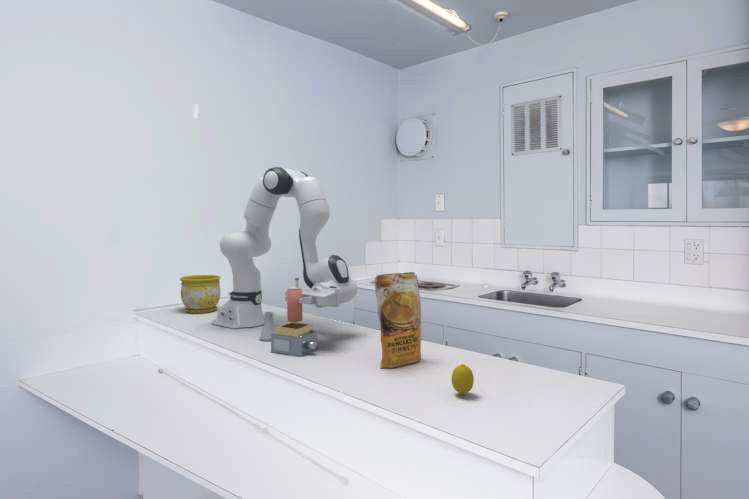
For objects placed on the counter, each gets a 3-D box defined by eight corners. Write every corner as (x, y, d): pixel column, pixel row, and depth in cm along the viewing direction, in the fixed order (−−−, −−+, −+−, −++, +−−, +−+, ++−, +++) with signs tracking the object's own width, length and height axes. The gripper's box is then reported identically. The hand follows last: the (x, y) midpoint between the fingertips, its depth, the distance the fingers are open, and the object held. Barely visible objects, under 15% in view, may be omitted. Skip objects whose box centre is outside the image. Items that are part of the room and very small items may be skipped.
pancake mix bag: (367, 365, 143) (368, 274, 141) (415, 355, 154) (415, 270, 152) (381, 371, 137) (382, 276, 135) (429, 360, 149) (430, 272, 147)
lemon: (477, 394, 120) (478, 363, 119) (466, 400, 116) (466, 368, 115) (458, 389, 123) (459, 359, 123) (447, 395, 119) (447, 364, 119)
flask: (274, 342, 169) (274, 314, 169) (255, 340, 171) (255, 313, 170) (282, 337, 176) (282, 310, 176) (264, 336, 178) (264, 310, 177)
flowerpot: (228, 308, 231) (228, 275, 230) (204, 316, 213) (204, 280, 212) (197, 306, 236) (197, 274, 235) (172, 313, 219) (171, 278, 218)
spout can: (284, 321, 157) (283, 278, 156) (292, 318, 161) (292, 276, 160) (297, 322, 155) (296, 279, 154) (305, 319, 159) (304, 277, 158)
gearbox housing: (270, 352, 156) (270, 327, 156) (288, 344, 166) (288, 321, 165) (309, 358, 150) (309, 331, 150) (325, 349, 160) (325, 325, 159)
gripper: (302, 283, 174) (272, 287, 163) (342, 288, 161) (313, 293, 150) (302, 300, 174) (272, 305, 163) (343, 306, 161) (313, 313, 151)
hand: (292, 300), depth 157 cm, fingers closed on spout can, 5 cm apart
